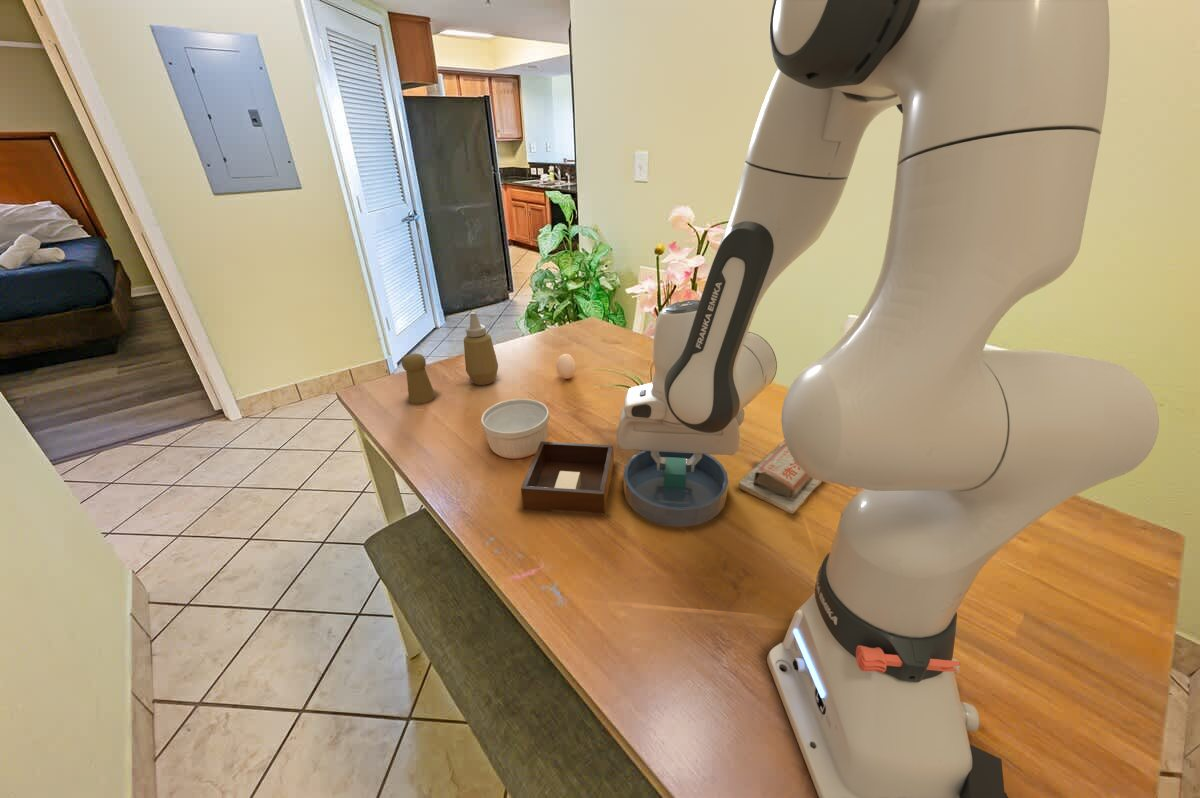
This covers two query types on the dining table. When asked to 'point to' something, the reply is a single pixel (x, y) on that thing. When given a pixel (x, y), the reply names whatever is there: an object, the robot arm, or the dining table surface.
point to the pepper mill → (417, 379)
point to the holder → (573, 458)
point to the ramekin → (516, 427)
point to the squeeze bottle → (479, 353)
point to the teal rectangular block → (675, 472)
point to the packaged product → (779, 480)
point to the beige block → (568, 480)
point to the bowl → (675, 490)
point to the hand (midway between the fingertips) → (674, 469)
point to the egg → (566, 366)
